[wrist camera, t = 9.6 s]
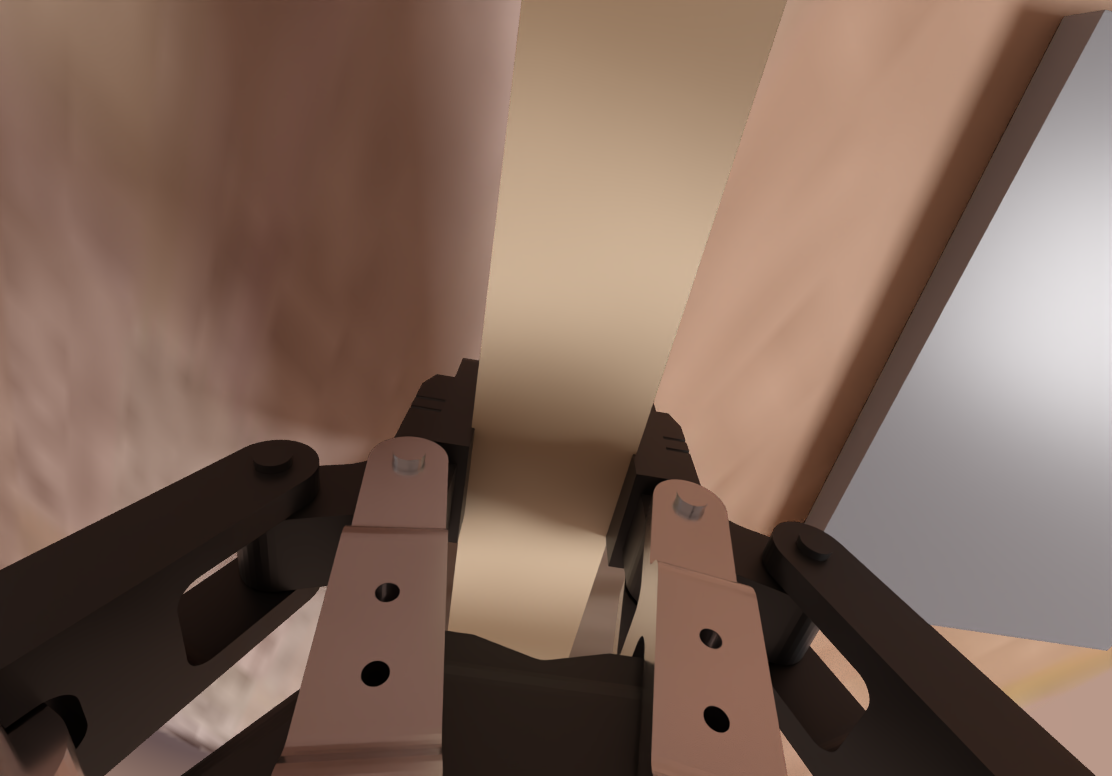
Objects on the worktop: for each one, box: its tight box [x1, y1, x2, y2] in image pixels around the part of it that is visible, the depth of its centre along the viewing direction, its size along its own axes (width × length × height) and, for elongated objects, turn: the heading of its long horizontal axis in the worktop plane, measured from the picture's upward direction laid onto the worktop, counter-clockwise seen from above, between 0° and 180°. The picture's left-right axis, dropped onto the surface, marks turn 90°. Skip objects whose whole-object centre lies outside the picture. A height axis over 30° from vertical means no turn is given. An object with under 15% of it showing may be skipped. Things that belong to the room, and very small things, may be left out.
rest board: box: [804, 10, 1112, 651], centre depth 18 cm, size 20×14×1 cm
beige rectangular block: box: [445, 0, 787, 660], centre depth 12 cm, size 15×8×5 cm, turn 170°
